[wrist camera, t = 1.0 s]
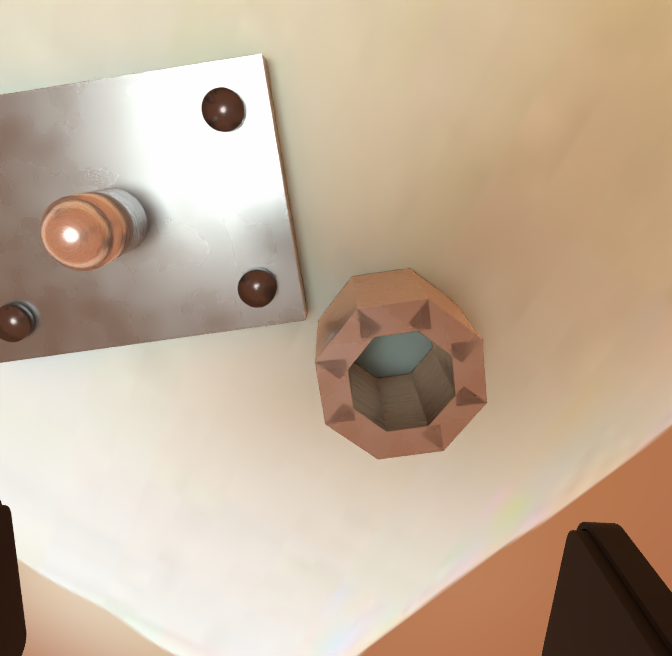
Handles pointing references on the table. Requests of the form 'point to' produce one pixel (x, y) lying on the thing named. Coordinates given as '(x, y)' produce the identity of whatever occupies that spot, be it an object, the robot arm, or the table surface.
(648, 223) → the table surface
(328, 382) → the hub ring
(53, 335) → the shaft block
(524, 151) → the table surface
